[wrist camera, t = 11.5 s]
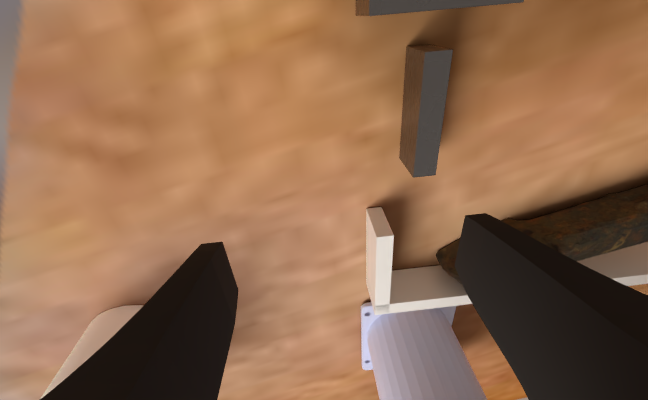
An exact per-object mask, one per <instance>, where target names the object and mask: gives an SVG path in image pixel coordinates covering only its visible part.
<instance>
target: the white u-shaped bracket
mask: <svg viewBox="0 0 648 400" xmlns="http://www.w3.org/2000/svg"><path fill="white" fill-rule="evenodd" d="M393 242H394V235H393V232H392V230H391V228H390V225H389V223H388V221H387V219H386V216H385V214H384V212H383V209H382V207H376V208H367V209H366V283H367V287H368V291H369V295H370V299H371V302H372V306H373V310H374V314H375V315H381V314H389V313H398V312H407V311H415V310H424V309H433V308H441V307H450V306H459V305H467V304H472V302H471V301H470V299H469V297H468V295H467V293H466V291H465V289H464V287H463V285H462V284H461V283H459V282H458V281H457V280H456V279H455V278H453V277H451V276H449V275H448V274H447V272H446V271H445V270H444V269H443V268H442V266H441V265H437V266H428V267H419V268H410V269H402V270H393V271H392V258H393ZM577 262H579V263H581V264H583V265H585V266H587V267H588V268H590V269H593V270H595V271H597V272H599V273H601V274H603V275H605V276H607V277H609V278H611V279H613V280H615V281H617V282H619V283H621V284H623V285H626V286H631V285H640V284H648V242H644V243H641V244H638V245H634V246H630V247H627V248H623V249H620V250H616V251H613V252H609V253H605V254H602V255H598V256H594V257H590V258H587V259H584V260H580V261H577Z"/></svg>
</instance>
